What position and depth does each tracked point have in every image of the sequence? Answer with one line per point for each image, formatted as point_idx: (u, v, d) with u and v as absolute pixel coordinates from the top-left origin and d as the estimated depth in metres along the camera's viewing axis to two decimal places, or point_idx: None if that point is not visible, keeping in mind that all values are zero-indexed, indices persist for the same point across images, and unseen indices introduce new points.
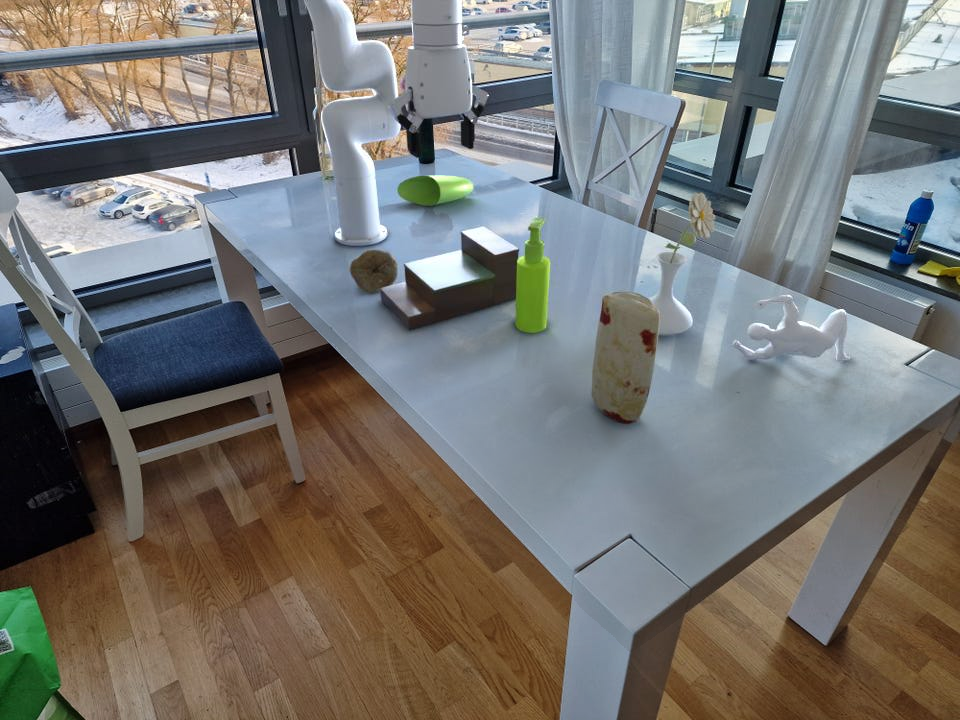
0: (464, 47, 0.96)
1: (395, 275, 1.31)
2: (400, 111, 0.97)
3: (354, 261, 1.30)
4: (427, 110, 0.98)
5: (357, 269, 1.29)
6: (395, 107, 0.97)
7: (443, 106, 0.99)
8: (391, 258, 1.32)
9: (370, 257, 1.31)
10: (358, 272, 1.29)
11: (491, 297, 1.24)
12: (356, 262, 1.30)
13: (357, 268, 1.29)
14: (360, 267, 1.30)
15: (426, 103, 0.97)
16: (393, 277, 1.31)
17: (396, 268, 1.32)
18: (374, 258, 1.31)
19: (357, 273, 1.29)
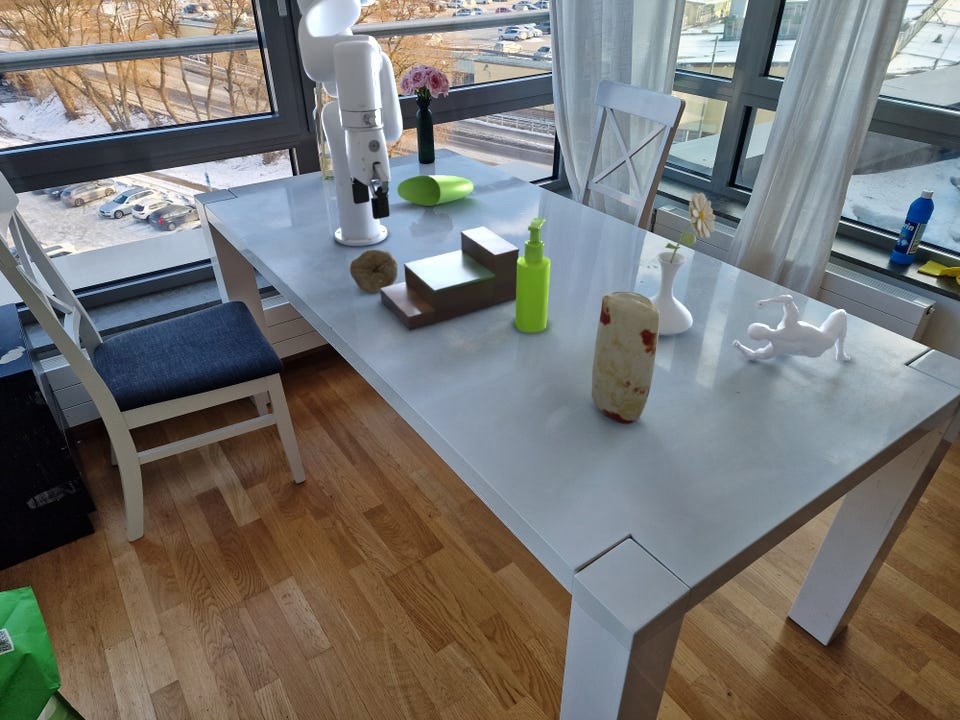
0: (359, 132, 1.11)
1: (395, 275, 1.31)
2: None
3: (354, 261, 1.30)
4: (350, 170, 1.20)
5: (357, 269, 1.29)
6: None
7: (355, 172, 1.18)
8: (391, 258, 1.32)
9: (370, 257, 1.31)
10: (358, 272, 1.29)
11: (491, 297, 1.24)
12: (356, 262, 1.30)
13: (357, 268, 1.29)
14: (360, 267, 1.30)
15: (349, 164, 1.20)
16: (393, 277, 1.31)
17: (396, 268, 1.32)
18: (374, 258, 1.31)
19: (357, 273, 1.29)
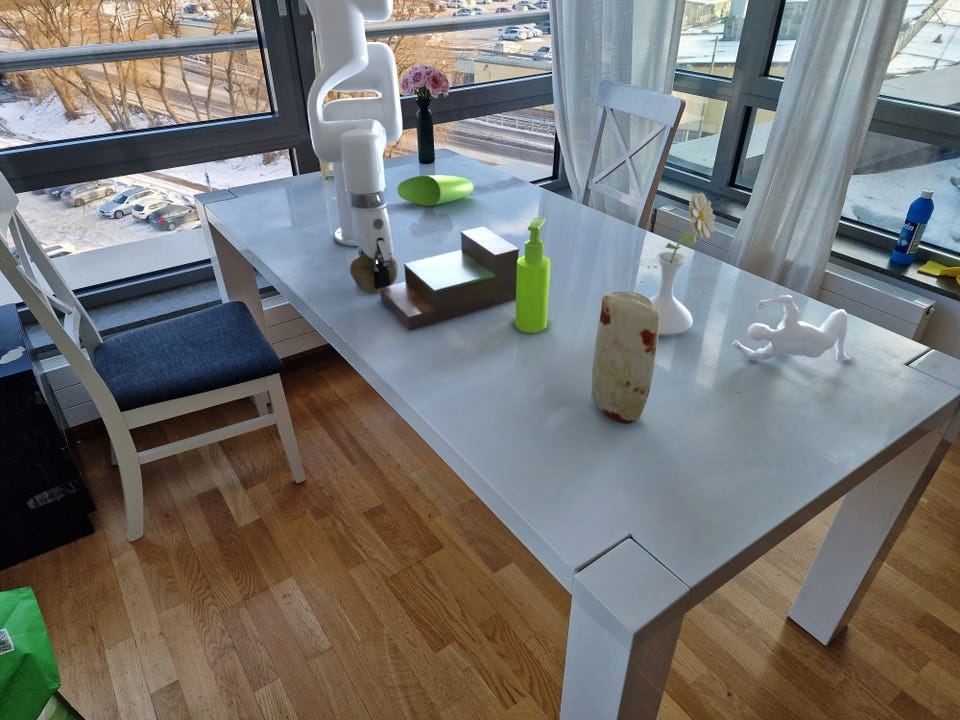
0: (364, 212, 1.20)
1: (395, 275, 1.31)
2: None
3: (354, 261, 1.30)
4: (356, 241, 1.29)
5: (357, 269, 1.29)
6: None
7: (360, 244, 1.27)
8: (391, 258, 1.32)
9: None
10: (358, 272, 1.29)
11: (491, 297, 1.24)
12: (356, 262, 1.30)
13: (357, 268, 1.29)
14: (360, 267, 1.30)
15: (354, 236, 1.29)
16: (393, 278, 1.31)
17: (396, 268, 1.32)
18: None
19: (357, 273, 1.29)
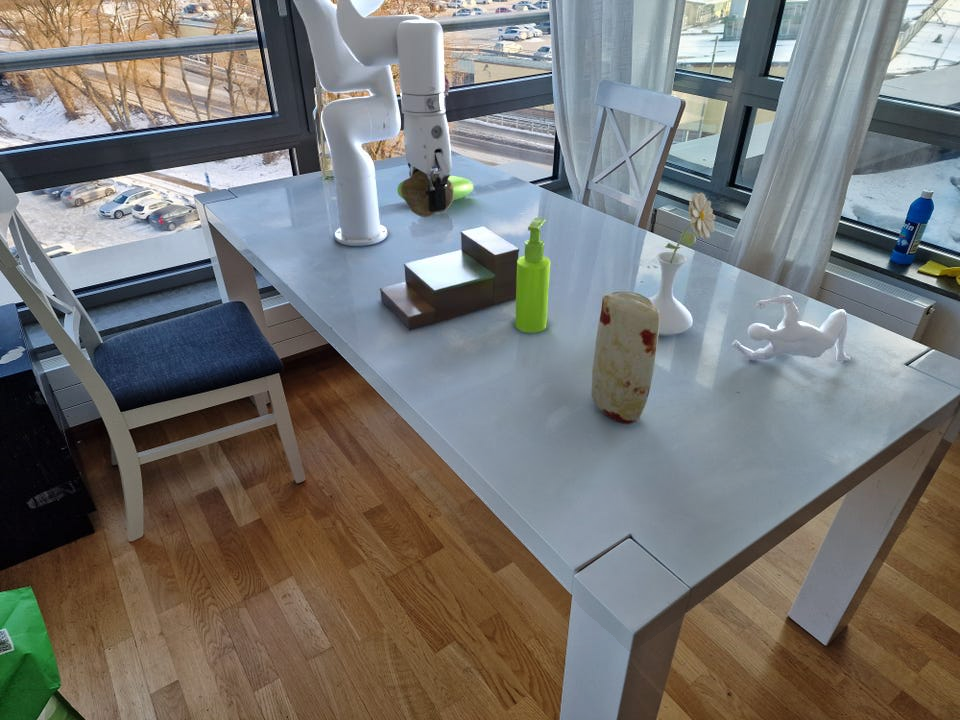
0: (422, 117, 1.05)
1: (451, 198, 1.16)
2: None
3: (405, 181, 1.15)
4: (407, 158, 1.14)
5: (409, 190, 1.14)
6: None
7: (413, 160, 1.12)
8: None
9: (423, 178, 1.16)
10: (410, 193, 1.14)
11: (491, 297, 1.24)
12: (407, 182, 1.15)
13: (409, 189, 1.14)
14: (413, 188, 1.15)
15: (406, 152, 1.14)
16: (449, 201, 1.16)
17: (452, 191, 1.17)
18: (427, 179, 1.16)
19: (409, 194, 1.14)
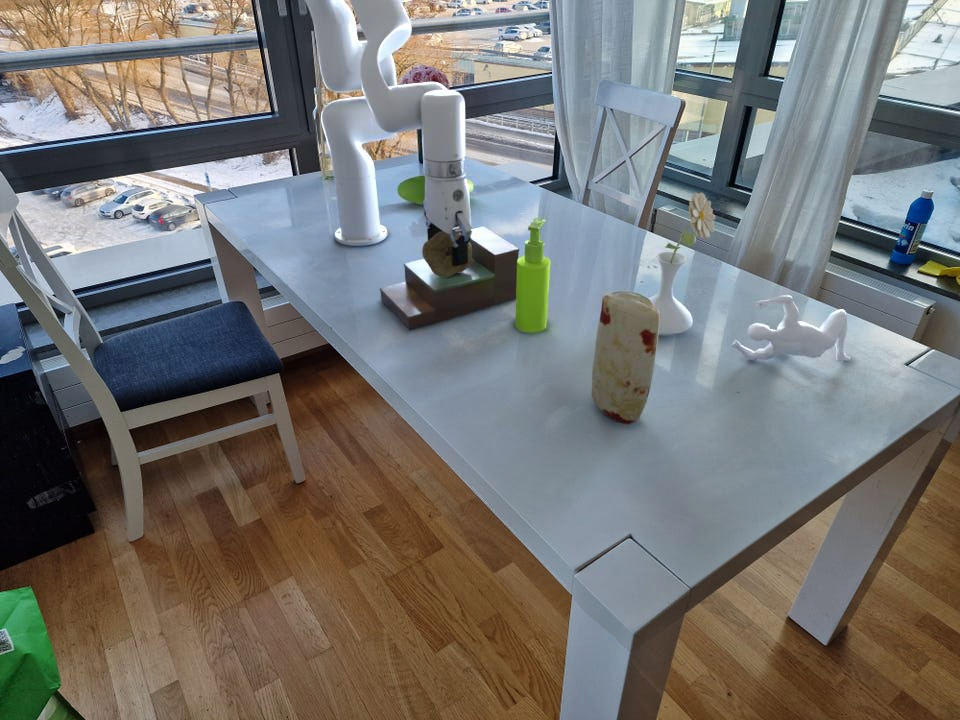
0: (444, 182, 1.09)
1: (470, 258, 1.21)
2: None
3: (426, 243, 1.20)
4: (428, 215, 1.19)
5: (430, 252, 1.19)
6: (424, 203, 1.23)
7: (434, 219, 1.17)
8: None
9: (443, 239, 1.21)
10: (431, 255, 1.19)
11: (491, 297, 1.24)
12: (428, 244, 1.20)
13: (429, 250, 1.19)
14: (433, 250, 1.20)
15: (427, 210, 1.18)
16: (468, 261, 1.21)
17: (471, 251, 1.22)
18: (447, 240, 1.21)
19: (430, 256, 1.19)
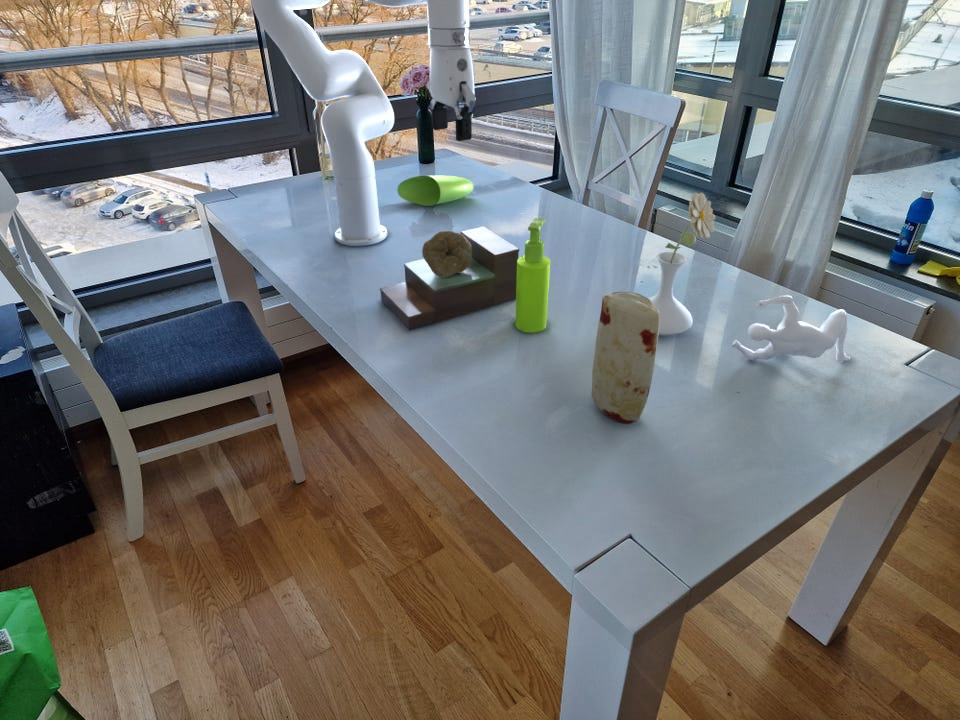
0: (448, 50, 1.13)
1: (470, 258, 1.21)
2: (430, 89, 1.26)
3: (426, 243, 1.20)
4: (433, 93, 1.22)
5: (430, 252, 1.19)
6: (429, 85, 1.26)
7: (438, 94, 1.20)
8: (465, 240, 1.22)
9: (443, 239, 1.21)
10: (431, 255, 1.19)
11: (491, 297, 1.24)
12: (428, 244, 1.20)
13: (429, 250, 1.19)
14: (433, 250, 1.20)
15: (432, 87, 1.22)
16: (468, 261, 1.21)
17: (471, 251, 1.22)
18: (447, 240, 1.21)
19: (430, 256, 1.19)
